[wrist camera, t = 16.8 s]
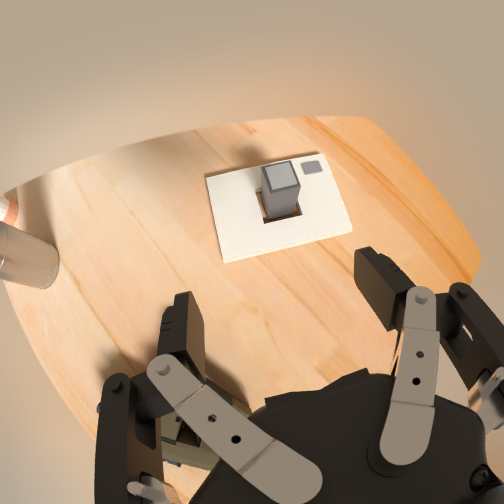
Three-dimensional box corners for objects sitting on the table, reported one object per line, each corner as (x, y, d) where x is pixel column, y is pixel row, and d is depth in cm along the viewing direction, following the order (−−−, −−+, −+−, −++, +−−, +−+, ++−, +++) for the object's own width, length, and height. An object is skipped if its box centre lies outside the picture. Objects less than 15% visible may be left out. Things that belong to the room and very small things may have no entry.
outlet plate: (224, 263, 40) (222, 260, 38) (207, 182, 44) (205, 176, 42) (350, 232, 41) (353, 228, 39) (321, 158, 44) (323, 152, 42)
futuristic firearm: (111, 311, 32) (86, 458, 25) (336, 371, 33) (287, 511, 25) (129, 314, 39) (104, 444, 32) (319, 365, 40) (279, 490, 32)
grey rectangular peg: (268, 220, 42) (270, 192, 32) (261, 197, 43) (260, 165, 33) (293, 214, 42) (301, 184, 32) (285, 191, 43) (290, 158, 33)
